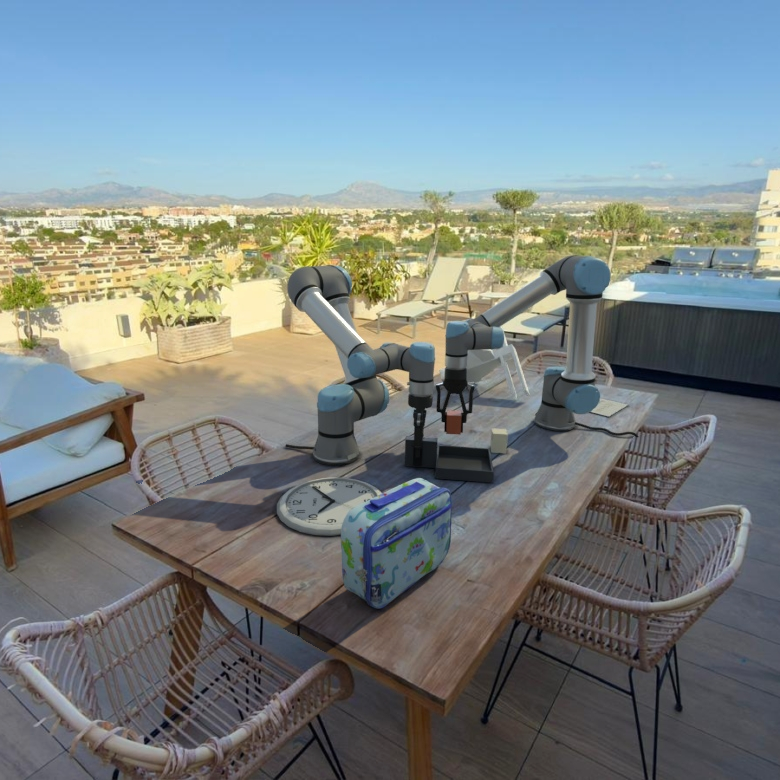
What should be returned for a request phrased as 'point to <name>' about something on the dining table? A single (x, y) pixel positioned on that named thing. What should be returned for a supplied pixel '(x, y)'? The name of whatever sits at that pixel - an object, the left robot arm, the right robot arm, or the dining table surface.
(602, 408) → the invitation card
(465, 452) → the tray
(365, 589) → the lunch box
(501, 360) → the white plastic object
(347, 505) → the wall clock
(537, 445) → the dining table surface
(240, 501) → the dining table surface
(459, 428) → the terracotta block
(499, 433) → the cream block
